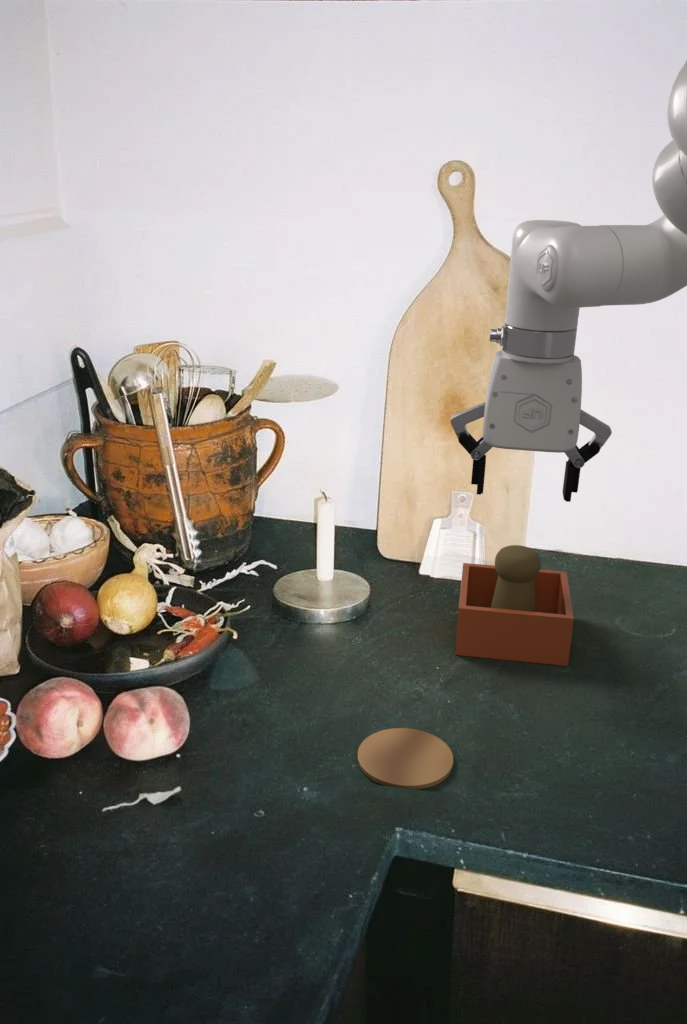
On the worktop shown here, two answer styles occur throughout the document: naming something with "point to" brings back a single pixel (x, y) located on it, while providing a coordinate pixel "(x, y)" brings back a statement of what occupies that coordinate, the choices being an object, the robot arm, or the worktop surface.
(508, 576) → the olive brown pawn
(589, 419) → the robot arm
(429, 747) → the coaster
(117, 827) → the worktop surface
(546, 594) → the terracotta open box
